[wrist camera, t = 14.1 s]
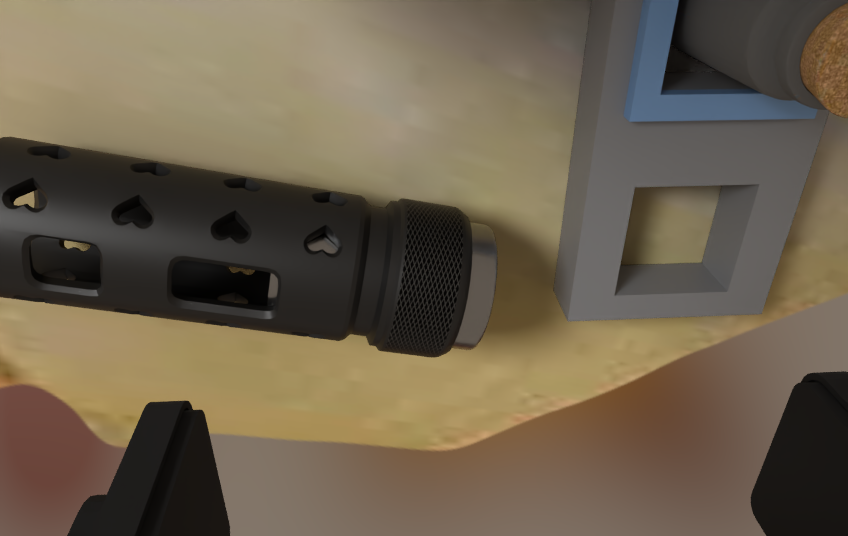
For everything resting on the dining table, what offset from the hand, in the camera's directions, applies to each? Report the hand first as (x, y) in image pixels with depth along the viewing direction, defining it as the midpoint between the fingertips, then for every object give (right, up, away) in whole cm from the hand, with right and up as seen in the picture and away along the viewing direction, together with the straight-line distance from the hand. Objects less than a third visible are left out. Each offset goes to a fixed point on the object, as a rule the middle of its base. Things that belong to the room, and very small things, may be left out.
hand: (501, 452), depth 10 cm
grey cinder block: (+16, +13, +31) cm, 37 cm away
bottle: (+16, +19, +28) cm, 37 cm away
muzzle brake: (-12, +7, +33) cm, 36 cm away
